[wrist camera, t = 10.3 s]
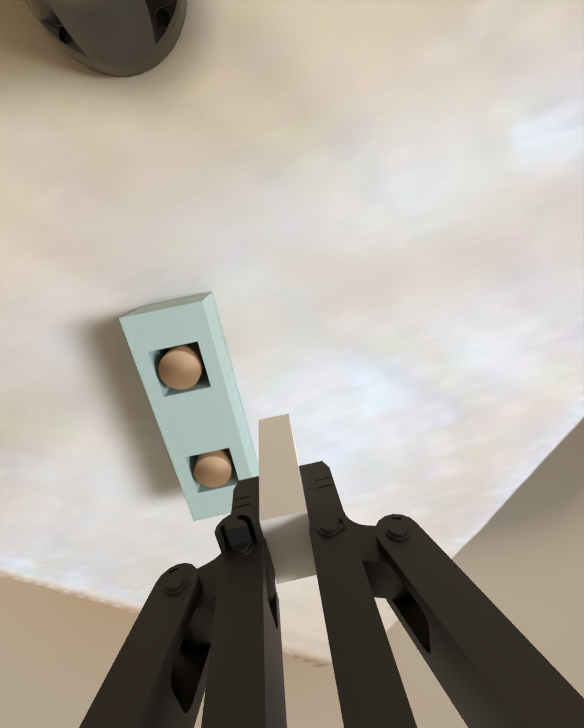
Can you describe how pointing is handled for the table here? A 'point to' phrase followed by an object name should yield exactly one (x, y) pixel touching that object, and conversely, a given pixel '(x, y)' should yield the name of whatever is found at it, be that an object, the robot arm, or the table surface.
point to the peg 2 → (214, 468)
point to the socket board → (193, 396)
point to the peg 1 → (182, 366)
